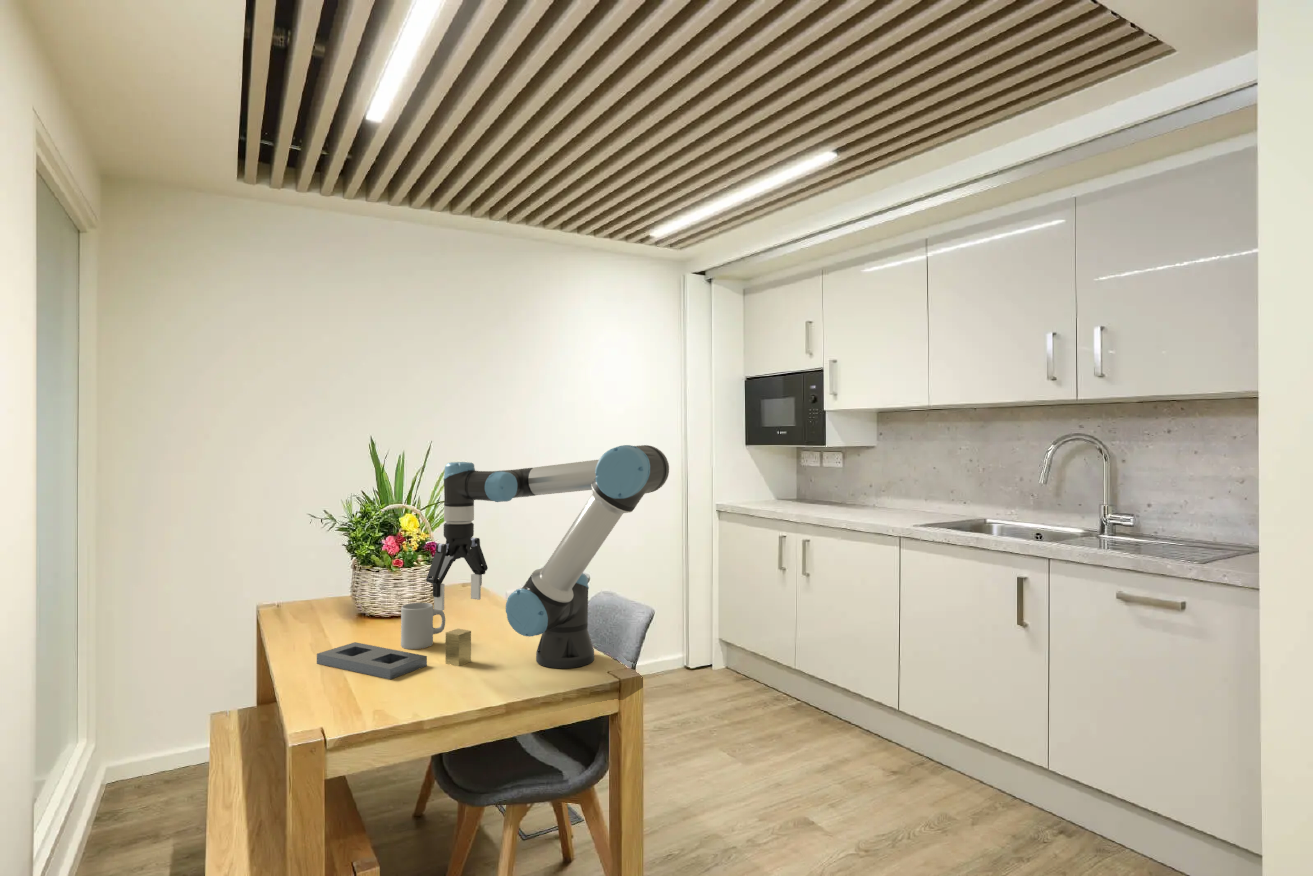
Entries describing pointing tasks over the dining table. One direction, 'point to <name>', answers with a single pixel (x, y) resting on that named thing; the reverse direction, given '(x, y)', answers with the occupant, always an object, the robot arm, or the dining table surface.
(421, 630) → the mug
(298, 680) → the dining table surface
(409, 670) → the square hole plate
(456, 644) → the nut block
